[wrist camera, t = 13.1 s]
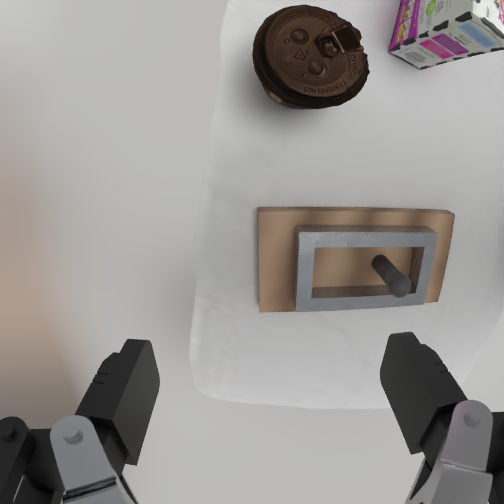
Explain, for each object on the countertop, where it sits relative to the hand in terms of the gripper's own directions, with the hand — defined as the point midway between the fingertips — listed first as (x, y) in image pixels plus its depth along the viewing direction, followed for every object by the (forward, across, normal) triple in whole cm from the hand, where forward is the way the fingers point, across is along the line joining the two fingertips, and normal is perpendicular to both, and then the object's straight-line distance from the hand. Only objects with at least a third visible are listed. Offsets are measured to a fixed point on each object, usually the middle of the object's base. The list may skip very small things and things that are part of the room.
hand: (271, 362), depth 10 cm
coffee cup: (+26, -4, -13) cm, 30 cm away
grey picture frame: (+24, -12, +7) cm, 28 cm away
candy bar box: (+26, -19, -22) cm, 39 cm away
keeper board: (+26, -12, +7) cm, 30 cm away
